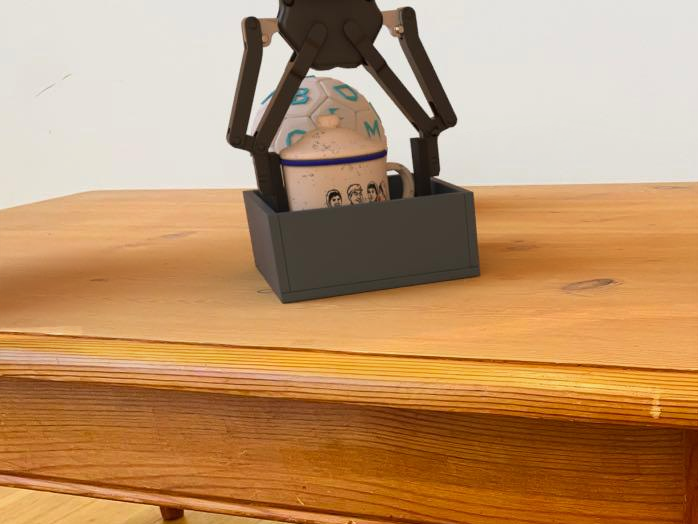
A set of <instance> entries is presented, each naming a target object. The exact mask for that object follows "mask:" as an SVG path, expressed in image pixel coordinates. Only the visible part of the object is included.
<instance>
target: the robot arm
mask: <svg viewBox="0 0 698 524" xmlns="http://www.w3.org/2000/svg"><path fill="white" fill-rule="evenodd" d="M240 24H241V25H240V27H241V33H242V41H243V42H242V43H243V54H242V58H241V62H240V68H239V72H238V77H237V82H236V85H235V86H236V87H235V91H234V96H233V101H232V107H231V111H230V115H229V120H228V126H227V129H226V135H225V140H226V143H227V145H229V146H231V147H232V148H234V149H238V150H242V151H245V152H248V153H249V155H250V154H251V155H252V157H251V159H252V158H253V163H252V165H253V164H254V165H253V169H254V170H253V171H254V174H255V180H256V188H257V189H259V191H260V193H261V194H262V195H263V196H265V195H272V198H273V204H274V210H275V213H282V212H288V209H287V203H286V197H285V190H284V184H283V178H282V171H281V165H280V159H279V154H277V153H276V152H268V149H269V147H270V145H271V143H272V141H273V139H274V137H275V135H276V133H277V131H278V129H279V127H280V125H281V123H282V121H283V119H284V117H285V115H286V113H287V111H288V109H289V107H290V105H291V103H292V101H293V99H294V97H295V95H296V93H297V91H298V89H299V87H300V85H301V83H302V81H303V80H304V78H305V77H306V76H308V74H309V71H310V69H311V70H313V71H315V72H325V71H331V70H333V69H337V68H340V69H346V70H348V69H350V70H352V69H358V67H360V66H362V67H363V68H364V70H365V71H366V72H367V73H369V75H370V76H371V77H372V78H373V79H374V80H375V83H377V84H378V86H379V87H380V89H382V90H383V91H384V93H385V94H386V96H388V98H389V99H390V100H391V101H392V103H393V104H394V105H395V106H396V107H397V108H398V110H399V111H400V113H401V114H402V115H403V116H404V118H406V119H407V121H408V122H409V123H410V124H411V126H412V127H413V128H414V129H415V131H416V132H417V133H418V137H417V136H416V137H409V142H410V143H409V146H410V154H411V155H410V156H411V163H412V173H414V182H415V192H416V197H420V196H429V195H432V191H431V181H430V177H435V178H436V177H439V176H440V173H441V163H440V161H441V160H440V154H439V153H440V152H439V151H440V150H439V142H438V141H439V140H438V139H439V136H440V135H441V133H443V132H444V131H446V130H448V129H450V128H451V129H452V128H454V127H455V126H456V125H457V124H458V116H457V114H456V112H455V110H454V108H453V106H452V104H451V102H450V100H449V97H448V95H447V93H446V91H445V89H444V86H443V84H442V82H441V80H440V78H439V76H438V73H437V72H436V70H435V67H434V65H433V63H432V61H431V59H430V57H429V55H428V53H427V51H426V48H425V46H424V44H423V42H422V40H421V38H420V34H419V27H418V19H417V12H416V10H415V9H414V7H412V6H400V7H397V8H396V9H391V10H390V9H389V10H381V9H380V8H379V5H378V4H377V2H376V0H278V11H277V14H276V17H261V18H260V17H256V16H254V15H251V16H245V17H244V18H243V19H241V23H240ZM383 26H384V27H386V28H387V29H388V31H389V34H390V35H391V37H393V38H397V39H398V43H399V46H400V48H401V50H402V52H403V55H404V56H405V59H406V60H407V63H408V65H409V67H410V69H411V71H412V73H413V75H414V77H415V79H416V81H417V83H418V86H419V88H420V90H421V91H422V94H423V96H424V98H425V100H426V102H427V104H428V106H429V109H430V110H431V112H432V114H433V116H431V117H430V115H429V114H428V113H427V111H426V110H425V109H424V108H423V107H422V105H421V104H420V103H419V102H418V101H417V99H416V98H415V97H414V95H413V94H412V93H411V92H410V91H409V90H408V88H407V87H406V86H405V84H404V83H403V82H402V81H401V80H400V78H399V77H398V75H397V74H396V73H395V72H394V71H393V69H392V68H391V67H390V65H389V64H388V62H387V60H386V59H385V58H384V57H383V55H382V54H381V53H380V51H379V50H378V49H377V48H376V47H375V45H374V44H375V42H376V40H377V38H378V36H379V34H380V32H381V30H382V29H383ZM276 33H278V35H279V36H280V37H281V38H282V39H283V40H284V42H285V43H286V44H287V45H288V46H289V47H290V49H291V50H292V53H291V55H290V57H289V59H288V61H287V63H286V65H285V68H284V71H283V73H282V75H281V77H280V79H279V81H278V84H277V85H276V88H275V89H274V90H275V92H274V94H273V96H272V98H271V100H270V102H269V104H268V106H267V108H266V110H265V112H264V114H263V116H262V118H261V120H260V122H259V124H258V126H257V128H256V130H255V132H254V134H253V136H251V134H247V132H248V129H249V123H250V118H251V114H252V110H253V105H254V100H255V96H256V90H257V86H258V82H259V76H260V72H261V67H262V62H263V56H264V48H267V47H269V46H270V45H271V43H272V39H273V36H274V34H276Z"/></svg>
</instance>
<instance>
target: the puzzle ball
mask: <svg viewBox="0 0 698 524" xmlns="http://www.w3.org/2000/svg"><path fill="white" fill-rule="evenodd" d="M275 90H276V89H273V91H271V92H270V93H269V94H268V95H267V96H266V97H265V98H264V99H263V100H262V101H261V103H260V105H261V106H260V107H259V108H258V110H257V112H256V113H255V117H254V119H253V121H252V125H251V128H250V129H251V131H250V132H251V133H250V135H251V136H253V134H254V132H255V130H256V128H257V126H258V124H259V122H260V120H261V118H262V116H263V114H264V112H265V110H266V108H267V106H268V104H269V102H270V100H271V98H272V96H273V94H274V92H275ZM327 114H337V115H338V116H339V117H340V122H341V124H340V126H339V127H346V128H350V129H353V130H355V131H356V132H358V133H359V134H361V135H363V136H365V137H367V138H369V139H373V140H377V141H380V142H382V143H383V144H384V146H385V150H387V152H388V151H389V147H388V138H387V135H386V134H385V133H386V132H385V128H384V126H383V124H382V123H383V122H382V120H381V117H380V115H379V114H378V112H377V111H376V109H375V108H374V106H373V104H372V103H371V101H368V99H367V98H366V97H365V95H363V94H362V93H360V92H359V91H358V89H356V88H354V87H353V86H350V84H347V83H345V82H343V81H341V80H339V79H336V78H333V77H330V76H316V75H314V74H312V75H306V77H305V78H304V80H303V81H302V83H301V85H300V87H299V89H298V91H297V93H296V95H295V97H294V99H293V101H292V103H291V105H290V107H289V109H288V111H287V113H286V115H285V117H284V119H283V121H282V123H281V125H280V127H279V129H278V131H277V133H276V135H275V137H274V139H273V141H272V143H271V145H270V147H269V149H268V152H276V153H277V154H279V152H280V151H281V150H282V149H283V148H286V147H288V146H290V145H292V144H294V143H295V142H297V141H298V140H299V139H300V138H301V137H302V136H303V135H304V134H305V133H307V132H309V131H311V130H315V129H319V128H318V127H317V126H316V117H317V116H319V115H327ZM249 157H251V163H252V165H253V166H254V164H253V158H252V155H251V154H250V153H249ZM385 161H386V162H388V154H387V155H386V156H385ZM281 171H282V167H281ZM282 178H283V174H282ZM283 184H284V180H283Z"/></svg>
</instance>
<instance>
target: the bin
mask: <svg viewBox="0 0 698 524" xmlns="http://www.w3.org/2000/svg"><path fill="white" fill-rule="evenodd" d="M411 174H412V176H413V179H414V173H413V172H411ZM387 179H388V188H389V196H390V200H386V201H377V202H368V203H360V204H351V205H342V206H334V207H325V208H316V209H308V210H299V211H290V212H282V213H275V210H274V204H273V198H272V195H265V196H263V195H262V194H261V193H260V191H259V189H258V188H257V189H249V190H248V189H247V190H242V196H243V203H244V209H245V214H246V220H247V226H248V233H249V237H250V242H251V248H252V254H253V258H254V259H253V260H254V265H255V268H256V269H257V271H258V273H259V274H260V275H261V276H262V277H263V279H264V280H265V282H266V283H267V285H269V287H270V289H271V290H272V292H273V293H274V294H275V295H276V296H277V298H278V299H279V301H280V302H281V303H282V304H289V303H295V302H303V301H309V300H316V299H317V300H318V299H325V298H331V297H338V296H345V295H353V294H359V293H367V292H374V291H381V290H388V289H396V288H403V287H409V286H417V285H418V286H419V285H425V284H430V283H431V284H433V283H438V282H447V281H452V280H453V281H454V280H460V279H466V278H467V279H468V278H474V277H480V276H481V267H480V255H479V252H480V251H479V242H478V230H477V218H476V208H475V195H474V194H475V193H474V191H471V190H469V189H467V188H464V187H462V186H458V185H456V184H454V183H451V182H448V181H446V180H444V179H440V178H438V177H436V176H435V177H430V181H431V191H432V195H429V196H420V197H416V192H415V194H414V197H412V198H403V199H402V197H403V180H402V178H401V176H400V175H399V174H398V173H395V174H387ZM414 184H415V182H414ZM284 190H285V187H284ZM285 197H286V193H285ZM286 203H287V199H286ZM287 209H288V206H287Z"/></svg>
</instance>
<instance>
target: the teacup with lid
mask: <svg viewBox="0 0 698 524" xmlns="http://www.w3.org/2000/svg"><path fill="white" fill-rule="evenodd" d="M340 124H341V122H340V117H339V116H338V115H337V114H327V115H319V116H317V117H316V126H317V127H318V128H319V129H315V130H311V131H309V132H307V133H305V134H304V135H303V136H302V137H301V138H300V139H299V140H298V141H297V142H295V143H294V144H292V145H290V146H288V147H286V148H283V149H282V150H281V151H280V152H279V159H280V165H281V167H282V174H283V180H284V187H285V193H286V199H287V206H288V212H290V211H299V210H308V209H316V208H325V207H334V206H342V205H351V204H360V203H368V202H377V201H386V200H390V196H389V188H388V179H387V175H388V172H392V171H394V172H396V174H399V175H400V176H401V178H402V180H403V197H402V199H403V198H412V197H414V194H415V184H414V179H413V176H412V174H411V173H412V172H411V170H410V169H409V168H407V166H405V165H403V164H402V163H399V162H395V161H387V162H386V161H385V156H386V155H387V156H388V151H387V150H385V146H384V144H383V143H382V142H380V141H377V140H373V139H369V138H367V137H365V136H363V135H361V134H359V133H358V132H356V131H355V130H353V129H350V128H346V127H339V126H340Z"/></svg>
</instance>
